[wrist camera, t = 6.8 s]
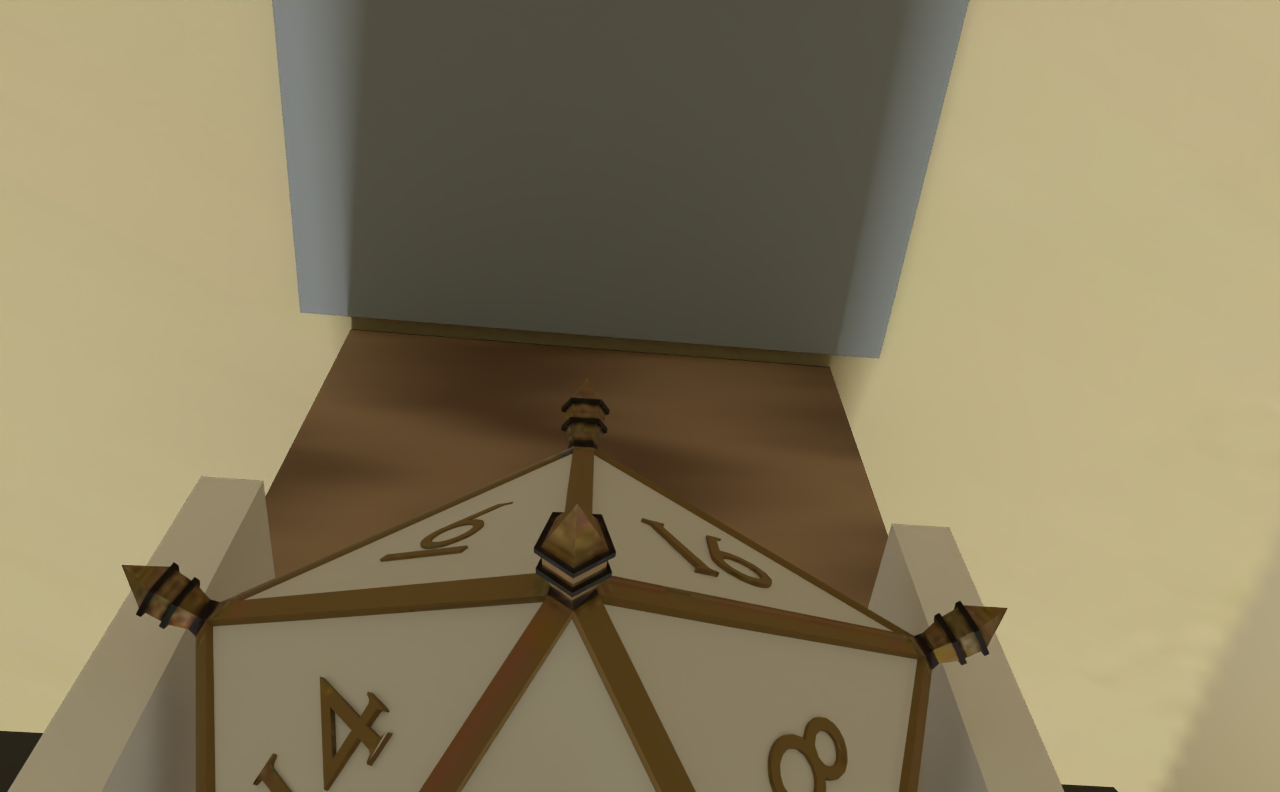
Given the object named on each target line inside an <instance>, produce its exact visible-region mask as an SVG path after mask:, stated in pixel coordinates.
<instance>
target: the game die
mask: <svg viewBox="0 0 1280 792" xmlns="http://www.w3.org/2000/svg"><path fill="white" fill-rule="evenodd" d="M561 411H562V412H565V413H566V416H565V423H564V424H563V425H562V426H561V430H562V431H565V432H566V434H567V438H568V442H569V446H568V449H566V450H564V451H562V452H560V453H557V454H555V455H553V456H551V457H548V458H546V459H544V460H541V461H539V462H537V463H535V464H532V465H530V466H528V467H526V468H523V469H521V470H519V471H517V472H514V473H512V474H510V475H507V476H505V477H503V478H501V479H498V480H496V481H494V482H492V483H489V484H487V485H485V486H482V487H480V488H478V489H476V490H473V491H471V492H469V493H467V494H464V495H462V496H460V497H458V498H455V499H453V500H451V501H448V502H446V503H444V504H442V505H439V506H437V507H435V508H433V509H430V510H428V511H426V512H423V513H421V514H419V515H417V516H414V517H412V518H410V519H408V520H405V521H403V522H401V523H399V524H396V525H394V526H392V527H389V528H387V529H385V530H383V531H380V532H378V533H376V534H374V535H371V536H369V537H367V538H364V539H362V540H360V541H358V542H355V543H353V544H351V545H349V546H346V547H344V548H342V549H340V550H337V551H335V552H333V553H330V554H328V555H326V556H324V557H321V558H319V559H317V560H315V561H312V562H310V563H308V564H305V565H303V566H301V567H299V568H296V569H294V570H292V571H290V572H287V573H285V574H283V575H281V576H278V577H276V578H274V579H271V580H269V581H267V582H265V583H262V584H260V585H258V586H256V587H253V588H251V589H249V590H246V591H244V592H242V593H240V594H237V595H235V596H233V597H231V598H228V599H226V600H224V601H222V602H218V601H215V600H211V599H209V597H208V596H207V595H206V594H205V593H204V592H203V591H202V590H201V588H200V580H199V579H197V578H196V577H194V578H193V579H192V580H190V579H189V578H187V577H186V576H184V575H183V574H181V573H180V571H179V565H177V564H176V563H175V562H173V564H172V565H171V566H170V567H166V566H133V565H122V567H123V570H124V572H125V575H126V577H127V580H128V582H129V585H130V587H131V590H132V592H133V595H134V597H135V600H136V602H137V604H138V607H139V609H138V611H137V612H136V615H137V616H139V617H141V616H143V615H144V614H145V613H146V614H148V615H150V616H152V617H154V618H156V619H158V620H160V621H161V623H160V625H159V627H161V628H162V629H165V628H166V627H167V626H168V625H171V626H176V627H180V628H184V629H189V630H190V631H191V633H192V634H193V635H194V636H195V792H917V790H918V782H919V774H920V766H921V757H922V749H923V741H924V733H925V725H926V716H927V708H928V700H929V692H930V684H931V676H932V670H933V669H934V668H935V667H936V666H937V665H938V664H940V663H947V662H954V661H958V662H959V663H960V664H961V665H964V664H967V662H966V659H965V658H967V657H969V656H972V655H974V654H976V653H979V652H981V653H982V654H983V655H984V656H986V655H988V654H989V651H988V649H987V647H988V645H989V643H990V641H991V639H992V637H993V635H994V633H995V631H996V629H997V628H998V626H999V624H1000V622H1001V620H1002V618H1003V616H1004V614H1005V612H1006V610H1007V608H998V607H983V606H968V605H963V604H962V602H961V601H958V602H957V603H955V607H954V610H952V611H951V612H949V613H947V614H945V615H944V616H941V614H940V613H938V614H936V615H934V623H933V624H931V625H930V626H929V627H928V628H927V629H926V630H925V631H924V632H923V633H921V634H918V635H915V636H913V635H912V634H910V633H908V632H906V631H905V630H903V629H901V628H900V627H898V626H896V625H895V624H893V623H891V622H890V621H888V620H886V619H884V618H883V617H881V616H879V615H878V614H876V613H874V612H873V611H871V610H869V609H867V608H866V607H864V606H862V605H861V604H859V603H857V602H856V601H854V600H852V599H850V598H849V597H847V596H845V595H844V594H842V593H840V592H839V591H837V590H835V589H833V588H832V587H830V586H828V585H827V584H825V583H823V582H822V581H820V580H818V579H817V578H815V577H813V576H811V575H810V574H808V573H806V572H805V571H803V570H801V569H800V568H798V567H796V566H794V565H793V564H791V563H789V562H788V561H786V560H784V559H783V558H781V557H779V556H777V555H776V554H774V553H772V552H771V551H769V550H767V549H766V548H764V547H762V546H760V545H759V544H757V543H755V542H754V541H752V540H750V539H749V538H747V537H745V536H743V535H742V534H740V533H738V532H737V531H735V530H733V529H732V528H730V527H728V526H727V525H725V524H723V523H721V522H720V521H718V520H716V519H715V518H713V517H711V516H710V515H708V514H706V513H704V512H703V511H701V510H699V509H698V508H696V507H694V506H693V505H691V504H689V503H687V502H686V501H684V500H682V499H681V498H679V497H677V496H676V495H674V494H672V493H670V492H669V491H667V490H665V489H664V488H662V487H660V486H659V485H657V484H655V483H653V482H652V481H650V480H648V479H647V478H645V477H643V476H642V475H640V474H638V473H637V472H635V471H633V470H631V469H630V468H628V467H626V466H625V465H623V464H621V463H620V462H618V461H616V460H614V459H613V458H611V457H609V456H608V455H606V454H604V453H603V452H601V451H599V450H598V444H599V441H600V439H601V436H602V434H604V433H607V429H608V428H607V427H606V426H605V425H604V420H605V415H608V414H609V412H610V410H609V408H608V407H607V406H606V405H605V403H604V402H603V401H602V399H600V398H599V396H598V395H597V393H596V391H595V389H594V387H593V385H592V383H591V382H590V380H589V378H588V376H587V377H586V379H585V380H584V382H583V383H582V385H581V386H580V388H579V389H578V390H577V392H576V393H575V395H574V396H573V398H570V399H569V400H568V401H567V402H566V403H565V404H564V405H563V406H562V407H561Z"/></svg>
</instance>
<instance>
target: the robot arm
mask: <svg viewBox="0 0 1280 792" xmlns="http://www.w3.org/2000/svg"><path fill="white" fill-rule="evenodd" d="M173 562H175V563H176V564H177V565H179V571H180V573H181V574H183V575H184V576H186V577H187V578H189V579H190V580H192V579H193V578H194V577H196V578H197V579H199V580H200V588H201V590H202V591H203V592H204V593H205V594H206V595H207V596H208V597H209V599H211V600H215V601H218V602H222V601H224V600H226V599H228V598H231V597H233V596H235V595H237V594H240V593H242V592H244V591H246V590H249V589H251V588H253V587H256V586H258V585H260V584H262V583H265V582H267V581H269V580H271V579H274V578H275V572H274V564H273V556H272V548H271V540H270V532H269V524H268V515H267V507H266V499H265V491H264V483H263V481H260V480H245V479H230V478H216V477H201V478H200V479H199V481H198V482H197V484H196V486H195V487H194V489H193V491H192V492H191V494H190V495H189V497H188V499H187V500H186V502H185V504H184V505H183V507H182V508H181V510H180V512H179V513H178V515H177V517H176V518H175V520H174V521H173V523H172V525H171V526H170V528H169V530H168V531H167V533H166V535H165V536H164V538H163V539H162V541H161V543H160V544H159V546H158V548H157V549H156V551H155V552H154V554H153V556H152V557H151V559H150V561H149V562H148V564H147V565H146V566H166V567H170V566H171V565H172V564H173ZM958 601H961V602H962V604H963V605H968V606H983V604H982V602H981V599H980V597H979V595H978V592H977V590H976V588H975V586H974V583H973V581H972V579H971V576H970V574H969V572H968V570H967V567H966V565H965V563H964V560H963V558H962V556H961V553H960V551H959V549H958V547H957V544H956V542H955V540H954V537H953V535H952V533H951V530H950V528H948V527H933V526H919V525H904V524H892V526H891V529H890V533H889V536H888V540H887V543H886V547H885V550H884V554H883V557H882V561H881V564H880V568H879V571H878V575H877V578H876V582H875V585H874V589H873V592H872V595H871V599H870V602H869V606H868V609H869V610H871V611H873V612H874V613H876V614H878V615H879V616H881V617H883V618H884V619H886V620H888V621H890V622H891V623H893V624H895V625H896V626H898V627H900V628H901V629H903V630H905V631H906V632H908V633H910V634H912V635H913V636H915V635H918V634H921V633H923V632H924V631H925V630H926V629H927V628H928V627H929V626H930V625H931V624H933V623H934V615H936V614H938V613H940V614H941V616H944V615H945V614H947V613H949V612H951V611H952V610H954V607H955V603H957V602H958ZM983 607H984V606H983ZM138 609H139V607H138V604H137V602H136V600H135V597H134V595H133V592H132V590H131V591H130V593H129V595H128V596H127V598H126V600H125V601H124V603H123V605H122V606H121V608H120V609H119V611H118V613H117V614H116V616H115V618H114V619H113V621H112V622H111V624H110V626H109V627H108V629H107V631H106V632H105V634H104V635H103V637H102V639H101V640H100V642H99V644H98V645H97V647H96V648H95V650H94V652H93V653H92V655H91V657H90V658H89V660H88V661H87V663H86V665H85V666H84V668H83V670H82V671H81V673H80V675H79V676H78V678H77V679H76V681H75V683H74V684H73V686H72V688H71V689H70V691H69V692H68V694H67V696H66V697H65V699H64V701H63V702H62V704H61V705H60V707H59V709H58V710H57V712H56V714H55V715H54V717H53V718H52V720H51V722H50V723H49V725H48V727H47V728H46V730H45V731H44V733H29V732H9V731H0V792H195V636H194V635H193V634H192V633H191V631H190V630H189V629H184V628H180V627H176V626H171V625H168V626H167V627H166V628H165V629H162V628H161V627H159V625H160V623H161V621H160V620H158V619H156V618H154V617H152V616H150V615H148V614H146V613H145V614H144V615H143V616H141V617H139V616H137V615H136V612H137V611H138ZM987 649H988V651H989V654H988V655H986V656H984V655H983V654H982V653H981V652H979V653H976V654H974V655H972V656H969V657H967V658H965V659H966V662H967V664H964V665H961V664H960V663H959V662H958V661H954V662H947V663H940V664H938V665H937V666H936V667H935V668H934V669H933V670H932V676H931V684H930V692H929V700H928V708H927V716H926V725H925V733H924V741H923V749H922V757H921V766H920V774H919V782H918V790H917V792H1118V791H1117V790H1116V789H1115V788H1114V787H1099V786H1080V785H1061V783H1060V781H1059V778H1058V776H1057V774H1056V772H1055V769H1054V767H1053V765H1052V762H1051V760H1050V758H1049V756H1048V753H1047V751H1046V749H1045V746H1044V744H1043V742H1042V739H1041V737H1040V735H1039V733H1038V730H1037V728H1036V726H1035V723H1034V721H1033V719H1032V716H1031V714H1030V712H1029V710H1028V707H1027V705H1026V703H1025V700H1024V698H1023V696H1022V694H1021V691H1020V689H1019V687H1018V684H1017V682H1016V680H1015V677H1014V675H1013V673H1012V671H1011V668H1010V666H1009V664H1008V661H1007V659H1006V657H1005V654H1004V652H1003V650H1002V648H1001V645H1000V643H999V641H998V638H997V636H996V634H995V633H994V635H993V637H992V639H991V641H990V643H989V645H988V647H987Z"/></svg>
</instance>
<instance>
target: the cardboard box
mask: <svg viewBox="0 0 1280 792" xmlns="http://www.w3.org/2000/svg"><path fill="white" fill-rule="evenodd" d="M587 376H588V378H589V380H590V382H591V383H592V385H593V387H594V389H595V391H596V393H597V395H598V396H599V398H600V399H602V401H603V402H604V403H605V405H606V406H607V407H608V408H609V410H610V412H609V414H608V415H605V420H604V425H605V426H606V427H607V428H608V429H607V433H604V434H602V436H601V439H600V441H599V444H598V450H599V451H601V452H603V453H604V454H606V455H608V456H609V457H611V458H613V459H614V460H616V461H618V462H620V463H621V464H623V465H625V466H626V467H628V468H630V469H631V470H633V471H635V472H637V473H638V474H640V475H642V476H643V477H645V478H647V479H648V480H650V481H652V482H653V483H655V484H657V485H659V486H660V487H662V488H664V489H665V490H667V491H669V492H670V493H672V494H674V495H676V496H677V497H679V498H681V499H682V500H684V501H686V502H687V503H689V504H691V505H693V506H694V507H696V508H698V509H699V510H701V511H703V512H704V513H706V514H708V515H710V516H711V517H713V518H715V519H716V520H718V521H720V522H721V523H723V524H725V525H727V526H728V527H730V528H732V529H733V530H735V531H737V532H738V533H740V534H742V535H743V536H745V537H747V538H749V539H750V540H752V541H754V542H755V543H757V544H759V545H760V546H762V547H764V548H766V549H767V550H769V551H771V552H772V553H774V554H776V555H777V556H779V557H781V558H783V559H784V560H786V561H788V562H789V563H791V564H793V565H794V566H796V567H798V568H800V569H801V570H803V571H805V572H806V573H808V574H810V575H811V576H813V577H815V578H817V579H818V580H820V581H822V582H823V583H825V584H827V585H828V586H830V587H832V588H833V589H835V590H837V591H839V592H840V593H842V594H844V595H845V596H847V597H849V598H850V599H852V600H854V601H856V602H857V603H859V604H861V605H862V606H864V607H866V608H867V609H868V606H869V602H870V599H871V595H872V592H873V589H874V585H875V582H876V578H877V575H878V571H879V568H880V564H881V561H882V557H883V554H884V550H885V547H886V543H887V540H888V535H887V532H886V529H885V526H884V523H883V520H882V517H881V515H880V512H879V509H878V506H877V503H876V500H875V497H874V494H873V491H872V489H871V486H870V483H869V480H868V477H867V474H866V471H865V468H864V465H863V463H862V460H861V457H860V454H859V451H858V448H857V445H856V442H855V439H854V437H853V434H852V431H851V428H850V425H849V422H848V419H847V416H846V414H845V411H844V408H843V405H842V402H841V399H840V396H839V393H838V390H837V388H836V385H835V382H834V379H833V376H832V373H831V370H830V367H817V366H804V365H792V364H779V363H766V362H754V361H741V360H728V359H715V358H703V357H690V356H677V355H664V354H652V353H639V352H626V351H614V350H601V349H588V348H575V347H563V346H550V345H537V344H525V343H512V342H499V341H486V340H474V339H461V338H448V337H435V336H423V335H410V334H397V333H385V332H372V331H359V330H350V332H349V334H348V336H347V338H346V340H345V342H344V344H343V346H342V348H341V350H340V352H339V354H338V356H337V358H336V360H335V362H334V364H333V366H332V368H331V370H330V372H329V374H328V375H327V377H326V379H325V381H324V383H323V385H322V387H321V389H320V391H319V393H318V395H317V397H316V399H315V401H314V403H313V405H312V407H311V409H310V411H309V413H308V415H307V417H306V419H305V421H304V422H303V424H302V426H301V428H300V430H299V432H298V434H297V436H296V438H295V440H294V442H293V444H292V446H291V448H290V450H289V452H288V454H287V456H286V458H285V460H284V462H283V464H282V466H281V467H280V469H279V471H278V473H277V475H276V477H275V479H274V481H273V483H272V485H271V487H270V489H269V491H268V493H267V495H266V497H265V499H266V507H267V515H268V524H269V532H270V540H271V548H272V556H273V564H274V572H275V578H276V577H278V576H281V575H283V574H285V573H287V572H290V571H292V570H294V569H296V568H299V567H301V566H303V565H305V564H308V563H310V562H312V561H315V560H317V559H319V558H321V557H324V556H326V555H328V554H330V553H333V552H335V551H337V550H340V549H342V548H344V547H346V546H349V545H351V544H353V543H355V542H358V541H360V540H362V539H364V538H367V537H369V536H371V535H374V534H376V533H378V532H380V531H383V530H385V529H387V528H389V527H392V526H394V525H396V524H399V523H401V522H403V521H405V520H408V519H410V518H412V517H414V516H417V515H419V514H421V513H423V512H426V511H428V510H430V509H433V508H435V507H437V506H439V505H442V504H444V503H446V502H448V501H451V500H453V499H455V498H458V497H460V496H462V495H464V494H467V493H469V492H471V491H473V490H476V489H478V488H480V487H482V486H485V485H487V484H489V483H492V482H494V481H496V480H498V479H501V478H503V477H505V476H507V475H510V474H512V473H514V472H517V471H519V470H521V469H523V468H526V467H528V466H530V465H532V464H535V463H537V462H539V461H541V460H544V459H546V458H548V457H551V456H553V455H555V454H557V453H560V452H562V451H564V450H566V449H568V446H569V442H568V438H567V434H566V432H565V431H562V430H561V426H562V425H563V424H564V423H565V416H566V413H565V412H562V411H561V407H562V406H563V405H564V404H565V403H566V402H567V401H568V400H569V399H570V398H573V396H574V395H575V393H576V392H577V390H578V389H579V388H580V386H581V385H582V383H583V382H584V380H585V379H586V377H587Z"/></svg>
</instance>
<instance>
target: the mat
mask: <svg viewBox="0 0 1280 792" xmlns="http://www.w3.org/2000/svg"><path fill="white" fill-rule="evenodd" d="M272 2H273V13H274V24H275V35H276V47H277V58H278V69H279V80H280V91H281V102H282V113H283V124H284V135H285V147H286V158H287V169H288V180H289V191H290V202H291V213H292V224H293V235H294V246H295V258H296V269H297V280H298V291H299V302H300V312H301V313H313V314H326V315H339V316H351V317H364V318H376V319H389V320H402V321H414V322H427V323H439V324H452V325H465V326H477V327H490V328H502V329H515V330H528V331H540V332H553V333H565V334H578V335H591V336H603V337H616V338H628V339H641V340H654V341H666V342H679V343H691V344H704V345H717V346H729V347H742V348H754V349H767V350H780V351H792V352H805V353H817V354H830V355H843V356H855V357H868V358H879V357H880V353H881V349H882V345H883V341H884V337H885V333H886V329H887V325H888V321H889V317H890V313H891V309H892V305H893V301H894V297H895V293H896V289H897V285H898V281H899V277H900V273H901V269H902V266H903V262H904V258H905V254H906V250H907V246H908V242H909V238H910V234H911V230H912V226H913V222H914V218H915V214H916V210H917V206H918V202H919V198H920V194H921V190H922V186H923V182H924V178H925V174H926V170H927V166H928V162H929V158H930V154H931V150H932V146H933V142H934V138H935V134H936V130H937V126H938V122H939V118H940V114H941V110H942V106H943V102H944V98H945V94H946V90H947V86H948V82H949V78H950V74H951V70H952V66H953V62H954V58H955V54H956V50H957V46H958V42H959V38H960V34H961V30H962V26H963V22H964V18H965V14H966V10H967V6H968V2H969V0H272Z"/></svg>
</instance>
